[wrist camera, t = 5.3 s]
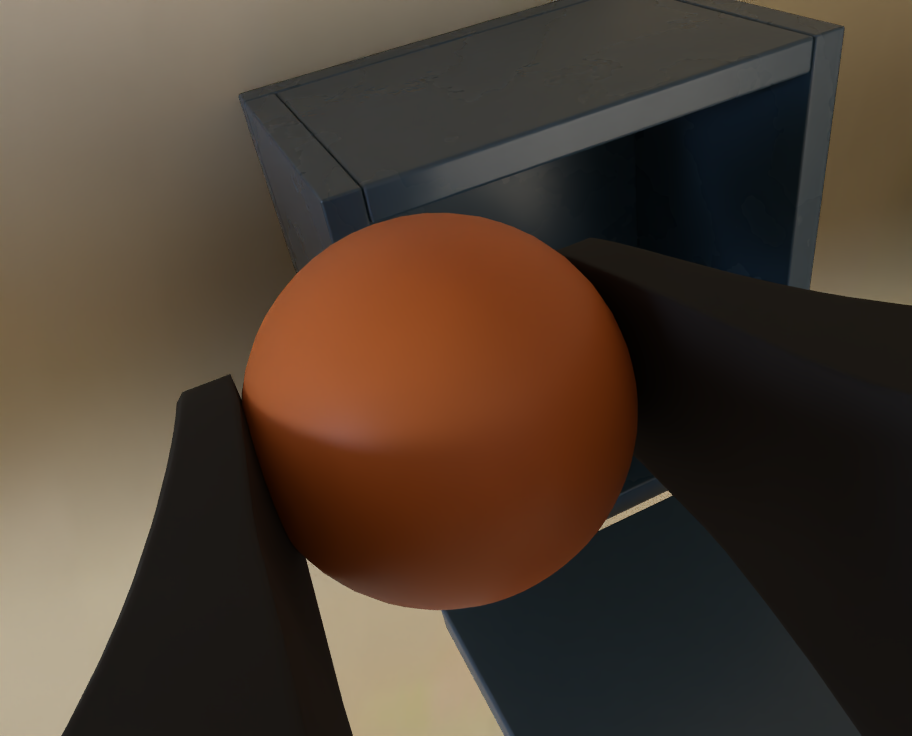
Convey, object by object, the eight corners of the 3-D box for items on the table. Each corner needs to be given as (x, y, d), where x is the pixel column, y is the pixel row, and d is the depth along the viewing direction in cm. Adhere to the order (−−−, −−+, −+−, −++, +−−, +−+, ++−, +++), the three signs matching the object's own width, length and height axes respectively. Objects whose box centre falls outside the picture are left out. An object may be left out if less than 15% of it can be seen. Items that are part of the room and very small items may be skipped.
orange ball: (271, 495, 13) (366, 763, 9) (153, 228, 10) (223, 466, 6) (537, 383, 14) (717, 583, 10) (502, 112, 11) (738, 256, 7)
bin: (236, 93, 18) (319, 201, 12) (639, -24, 20) (846, 25, 15) (349, 437, 24) (435, 602, 19) (644, 316, 26) (791, 433, 21)
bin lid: (801, 1274, 9) (798, 1287, 10) (1378, 823, 12) (1355, 850, 12) (438, 604, 18) (446, 627, 19) (804, 431, 21) (802, 454, 21)
